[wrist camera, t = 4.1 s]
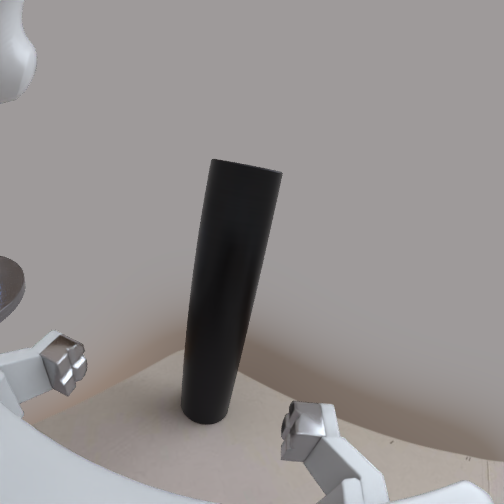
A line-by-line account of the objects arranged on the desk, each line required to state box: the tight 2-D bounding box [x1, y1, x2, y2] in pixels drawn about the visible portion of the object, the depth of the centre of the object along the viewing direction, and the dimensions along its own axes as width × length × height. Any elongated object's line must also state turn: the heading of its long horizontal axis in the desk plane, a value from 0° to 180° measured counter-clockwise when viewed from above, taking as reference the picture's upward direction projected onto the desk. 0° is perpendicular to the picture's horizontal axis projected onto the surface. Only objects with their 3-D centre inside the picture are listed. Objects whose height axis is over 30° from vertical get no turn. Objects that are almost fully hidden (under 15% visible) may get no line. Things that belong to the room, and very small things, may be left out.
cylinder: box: [181, 159, 283, 424], centre depth 20 cm, size 5×5×22 cm
